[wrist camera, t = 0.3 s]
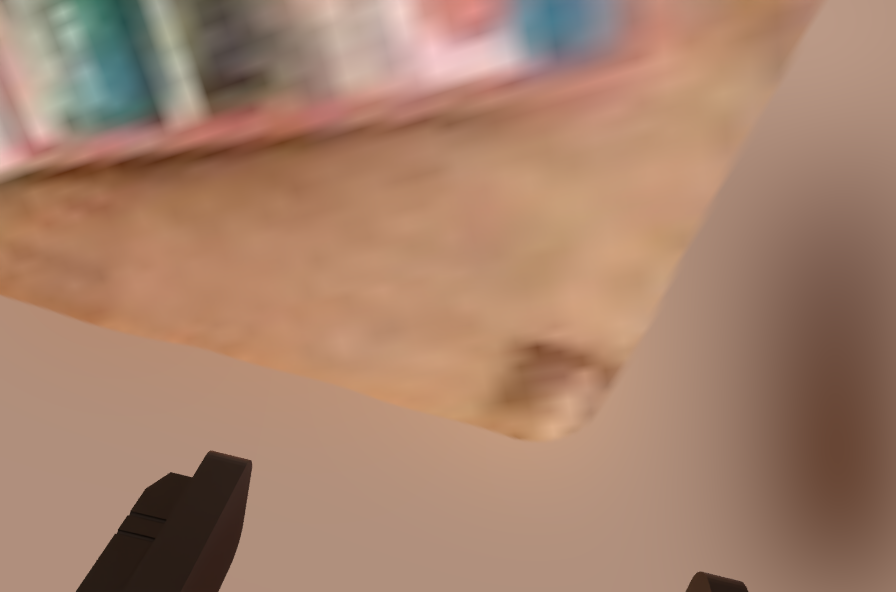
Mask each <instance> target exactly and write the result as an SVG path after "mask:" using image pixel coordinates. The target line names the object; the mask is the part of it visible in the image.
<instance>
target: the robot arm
mask: <svg viewBox="0 0 896 592" xmlns="http://www.w3.org/2000/svg"><path fill="white" fill-rule="evenodd" d="M251 471H252V461H251V460H248V459H244V458H239V457H235V456H231V455H227V454H223V453H219V452H215V451H209V452H208V453H207V455H206V456H205V458H204V460H203V461H202V463H201V464H200V466H199V467H198V469H197V471H196V473H195V474H194V476H193V477H188V476H184V475H180V474H175V473H172V472H170V473H169V474H168V475H166V476H164V477H163V478H161V479H160V480H158V481H157V482H155V483H154V484H152V485H151V486H149V487H148V488H146V489H145V491H144V492H143V494H142V495H141V496H140V498H139V499H138V501H137V502H136V504H135V505H134V507H133V508H132V510H131V512H130V515H129V516H127V517H126V519H125V520H124V521H123V523H122V524H121V526H120V527H119V529H118V532H117V534H115V535H114V536H113V538H112V539H111V541H110V542H109V544H108V545H107V547H106V548H105V550H104V551H103V553H102V554H101V555H100V557H99V558H98V560H97V561H96V563H95V564H94V566H93V567H92V569H91V570H90V571H89V573H88V574H87V576H86V577H85V579H84V580H83V582H82V583H81V585H80V586H79V588H78V589H77V591H76V592H218V591H219V589H220V587H221V585H222V583H223V581H224V578H225V576H226V574H227V572H228V570H229V568H230V565H231V563H232V561H233V558H234V555H235V553H236V550H237V547H238V544H239V540H240V536H241V532H242V528H243V522H244V515H245V509H246V503H247V496H248V490H249V483H250V477H251ZM686 592H748V590H747V588H746V586H745V584H744V583H743V582H741V581H737V580H733V579H729V578H725V577H721V576H717V575H713V574H709V573H704V572H698V573H696V574H695V575H694V577H693V579H692V580H691V582H690V584H689V586H688V588H687V590H686Z"/></svg>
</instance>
